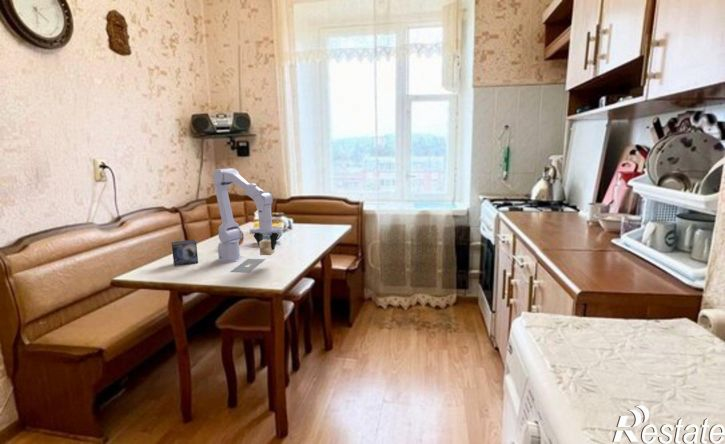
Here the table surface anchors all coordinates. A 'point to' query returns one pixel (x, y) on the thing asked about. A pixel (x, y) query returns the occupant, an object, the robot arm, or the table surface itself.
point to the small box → (184, 252)
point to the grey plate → (248, 265)
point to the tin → (241, 239)
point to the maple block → (266, 247)
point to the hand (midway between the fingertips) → (267, 249)
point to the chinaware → (267, 236)
